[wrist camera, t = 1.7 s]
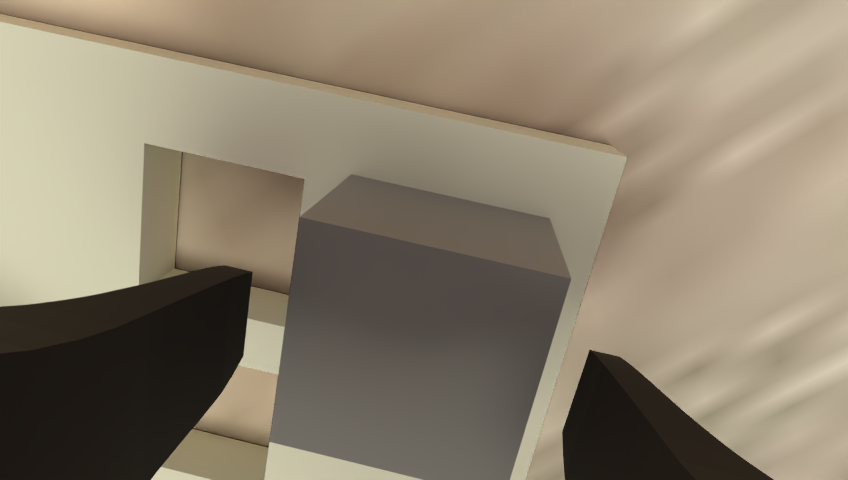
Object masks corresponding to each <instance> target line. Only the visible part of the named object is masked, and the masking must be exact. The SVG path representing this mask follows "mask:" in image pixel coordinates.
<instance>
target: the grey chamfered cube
mask: <svg viewBox="0 0 848 480" xmlns="http://www.w3.org/2000/svg"><path fill="white" fill-rule="evenodd" d="M570 282H571V276H570V273H569V271H568V268H567V265H566V262H565V260H564V257H563V254H562V251H561V248H560V246H559V243H558V240H557V237H556V235H555V232H554V229H553V226H552V223H551V221H550V218H546V217H541V216H537V215H532V214H528V213H523V212H519V211H514V210H510V209H505V208H501V207H496V206H492V205H487V204H483V203H478V202H474V201H469V200H465V199H460V198H456V197H451V196H447V195H442V194H438V193H433V192H429V191H424V190H420V189H415V188H411V187H406V186H402V185H397V184H393V183H388V182H384V181H379V180H375V179H370V178H366V177H361V176H357V175H353V174H351V175H350V176H349V177H347V178H346V179H345V180H344V181H343V182H341V183H340V184H339V185H338V186H337V187H335V188H334V189H333V190H332V191H330V192H329V193H328V194H327V195H326V196H324V197H323V198H322V199H321V200H319V201H318V202H317V203H316V204H315V205H313V206H312V207H311V208H310V209H309V210H307V211H306V212H305V213H304V214H302V215H301V216H300V217H299V224H298V232H297V239H296V247H295V254H294V262H293V269H292V277H291V284H290V292H289V299H288V306H287V314H286V321H285V329H284V336H283V344H282V351H281V359H280V366H279V374H278V381H277V388H276V396H275V403H274V411H273V418H272V426H271V433H270V441H269V442H272V443H276V444H280V445H284V446H288V447H292V448H296V449H300V450H305V451H309V452H313V453H317V454H321V455H325V456H329V457H333V458H337V459H341V460H345V461H349V462H353V463H357V464H361V465H365V466H369V467H373V468H378V469H382V470H386V471H390V472H394V473H398V474H402V475H406V476H410V477H414V478H418V479H422V480H510V478H511V474H512V471H513V468H514V465H515V461H516V458H517V455H518V452H519V448H520V445H521V442H522V438H523V435H524V432H525V429H526V425H527V422H528V419H529V416H530V412H531V409H532V406H533V403H534V399H535V396H536V393H537V389H538V386H539V383H540V380H541V376H542V373H543V370H544V367H545V363H546V360H547V357H548V354H549V350H550V347H551V344H552V340H553V337H554V334H555V331H556V327H557V324H558V321H559V318H560V314H561V311H562V308H563V305H564V301H565V298H566V295H567V291H568V288H569V285H570Z"/></svg>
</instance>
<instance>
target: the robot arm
mask: <svg viewBox="0 0 848 480" xmlns="http://www.w3.org/2000/svg"><path fill="white" fill-rule="evenodd" d="M251 281H252V272H251V271H246V270H242V269H238V268H233V267H229V266H216V267H210V268H205V269H201V270H197V271H193V272H189V273H185V274H181V275H177V276H173V277H169V278H165V279H161V280H157V281H154V282H150V283H146V284H141V285H137V286H132V287H128V288H123V289H119V290H114V291H110V292H105V293H100V294H96V295H90V296H85V297H79V298H73V299H67V300H59V301H52V302H45V303H37V304H28V305H15V306H2V307H0V480H151V479H152V478H153V476H154V475H155V474H156V472H157V471H158V470H159V469H160V467H161V466H162V465H163V464H164V463H165V461H166V460H167V459H168V458H169V456H170V455H171V454H172V453H173V452H174V450H175V449H176V448H177V447H178V446H179V444H180V443H181V442H182V441H183V440H184V438H185V437H186V436H187V435H188V433H189V432H190V431H191V430H192V429H193V427H194V426H195V425H196V424H197V423H198V421H199V420H200V419H201V418H202V416H203V415H204V414H205V413H206V411H207V410H208V409H209V408H210V407H211V405H212V404H213V403H214V402H215V400H216V399H217V398H218V396H219V395H220V394H221V393H222V391H223V390H224V388H225V386H226V385H227V383H228V381H229V380H230V378H231V377H232V375H233V373H234V371H235V370H236V368H237V366H238V365H239V363H240V361H241V359H242V358H243V355H244V346H245V337H246V327H247V318H248V309H249V300H250V290H251ZM562 434H563V458H564V473H565V480H773V479H772V478H770V477H769V476H767V475H766V474H764V473H763V472H762V471H760V470H759V469H757V468H756V467H754V466H753V465H751V464H750V463H748V462H747V461H746V460H744V459H743V458H741V457H740V456H739V455H737V454H736V453H735V452H733V451H732V450H730V449H729V448H728V447H727V446H725V445H724V444H723V443H722V442H720V441H719V440H718V439H716V438H715V437H714V436H713V435H711V434H710V433H709V432H708V431H706V430H705V429H704V428H703V427H701V426H700V425H699V424H698V423H697V422H695V421H694V420H693V419H692V418H691V417H690V416H688V415H687V414H686V413H685V412H684V411H683V410H681V409H680V408H679V407H678V406H677V405H676V404H675V403H673V402H672V401H671V400H670V399H669V398H668V397H667V396H665V395H664V394H663V393H662V392H661V391H660V390H659V389H658V388H657V387H655V386H654V385H653V384H652V383H651V382H650V381H649V380H648V379H646V378H645V377H644V376H643V375H642V374H641V373H640V372H638V371H637V370H636V369H635V368H634V367H633V366H631V365H630V364H629V363H628V362H626V361H625V360H623V359H622V358H620V357H618V356H613V355H609V354H605V353H600V352H596V351H592V350H590V351H589V354H588V357H587V360H586V363H585V366H584V369H583V372H582V375H581V378H580V381H579V384H578V387H577V390H576V393H575V396H574V399H573V402H572V405H571V408H570V411H569V414H568V417H567V420H566V423H565V426H564V429H563V432H562Z"/></svg>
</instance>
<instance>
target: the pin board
mask: <svg viewBox="0 0 848 480" xmlns="http://www.w3.org/2000/svg"><path fill="white" fill-rule="evenodd" d="M182 152H186V153H190V154H195V155H199V156H204V157H208V158H213V159H217V160H221V161H226V162H230V163H235V164H239V165H244V166H248V167H253V168H257V169H262V170H266V171H271V172H275V173H280V174H284V175H288V176H293V177H297V178H302V179H305V180H304V187H303V195H302V202H301V210H300V216H301V215H302V214H304V213H305V212H306V211H307V210H309V209H310V208H311V207H312V206H313V205H315V204H316V203H317V202H318V201H319V200H321V199H322V198H323V197H324V196H326V195H327V194H328V193H329V192H330V191H332V190H333V189H334V188H335V187H337V186H338V185H339V184H340V183H341V182H343V181H344V180H345V179H346V178H347V177H349V176H350V175H351V174H353V175H357V176H361V177H366V178H370V179H375V180H379V181H384V182H388V183H393V184H397V185H402V186H406V187H411V188H415V189H420V190H424V191H429V192H433V193H438V194H442V195H447V196H451V197H456V198H460V199H465V200H469V201H474V202H478V203H483V204H487V205H492V206H496V207H501V208H505V209H510V210H514V211H519V212H523V213H528V214H532V215H537V216H541V217H546V218H550V221H551V223H552V226H553V229H554V232H555V235H556V237H557V240H558V243H559V246H560V248H561V251H562V254H563V257H564V260H565V262H566V265H567V268H568V271H569V273H570V276H571V282H570V285H569V288H568V291H567V295H566V298H565V301H564V305H563V308H562V311H561V314H560V318H559V321H558V324H557V327H556V331H555V334H554V337H553V340H552V344H551V347H550V350H549V354H548V357H547V360H546V363H545V367H544V370H543V373H542V376H541V380H540V383H539V386H538V389H537V393H536V396H535V399H534V403H533V406H532V409H531V412H530V416H529V419H528V422H527V425H526V429H525V432H524V435H523V438H522V442H521V445H520V448H519V452H518V455H517V458H516V461H515V465H514V468H513V471H512V474H511V478H510V480H525V479H526V476H527V473H528V469H529V466H530V463H531V460H532V457H533V454H534V450H535V447H536V444H537V441H538V438H539V435H540V431H541V428H542V425H543V422H544V419H545V416H546V413H547V409H548V406H549V403H550V400H551V397H552V394H553V390H554V387H555V384H556V381H557V378H558V375H559V372H560V368H561V365H562V362H563V359H564V356H565V353H566V349H567V346H568V343H569V340H570V337H571V334H572V330H573V327H574V324H575V321H576V318H577V315H578V312H579V308H580V305H581V302H582V299H583V296H584V293H585V289H586V286H587V283H588V280H589V277H590V274H591V271H592V267H593V264H594V261H595V258H596V255H597V252H598V248H599V245H600V242H601V239H602V236H603V233H604V229H605V226H606V223H607V220H608V217H609V214H610V211H611V207H612V204H613V201H614V198H615V195H616V192H617V188H618V185H619V182H620V179H621V176H622V173H623V169H624V166H625V163H626V160H627V157H626V156H625V155H623V154H622V153H621V152H619V151H618V150H617V149H615V148H614V147H612V146H611V145H606V144H602V143H597V142H593V141H588V140H583V139H579V138H574V137H569V136H565V135H560V134H555V133H551V132H546V131H542V130H537V129H532V128H528V127H523V126H518V125H514V124H509V123H504V122H500V121H495V120H490V119H486V118H481V117H477V116H472V115H467V114H463V113H458V112H453V111H449V110H444V109H439V108H435V107H430V106H426V105H421V104H416V103H412V102H407V101H402V100H398V99H393V98H388V97H384V96H379V95H375V94H370V93H365V92H361V91H356V90H351V89H347V88H342V87H337V86H333V85H328V84H324V83H319V82H314V81H310V80H305V79H300V78H296V77H291V76H286V75H282V74H277V73H273V72H268V71H263V70H259V69H254V68H249V67H245V66H240V65H235V64H231V63H226V62H222V61H217V60H212V59H208V58H203V57H198V56H194V55H189V54H184V53H180V52H175V51H171V50H166V49H161V48H157V47H152V46H147V45H143V44H138V43H133V42H129V41H124V40H119V39H115V38H110V37H106V36H101V35H96V34H92V33H87V32H82V31H78V30H73V29H68V28H64V27H59V26H55V25H50V24H45V23H41V22H36V21H31V20H27V19H22V18H17V17H13V16H8V15H4V14H0V307H2V306H15V305H28V304H37V303H45V302H52V301H59V300H67V299H73V298H79V297H85V296H90V295H96V294H100V293H105V292H110V291H114V290H119V289H123V288H128V287H132V286H137V285H141V284H146V283H150V282H154V281H157V280H161V279H165V278H169V277H173V276H177V275H181V274H185V273H189V272H188V271H183V270H179V269H175V256H176V240H177V224H178V207H179V191H180V175H181V159H182ZM288 299H289V295H286V294H282V293H277V292H273V291H269V290H265V289H260V288H256V287H252V286H251V290H250V300H249V309H248V318H247V327H246V337H245V346H244V355H243V358H242V359H241V361H240V363H239V366H244V367H248V368H252V369H256V370H260V371H264V372H268V373H273V374H277V375H278V374H279V366H280V359H281V351H282V344H283V336H284V329H285V321H286V314H287V306H288ZM151 480H422V479H418V478H414V477H410V476H406V475H402V474H398V473H394V472H390V471H386V470H382V469H378V468H373V467H369V466H365V465H361V464H357V463H353V462H349V461H345V460H341V459H337V458H333V457H329V456H325V455H321V454H317V453H313V452H309V451H305V450H300V449H296V448H292V447H288V446H284V445H280V444H276V443H272V442H269V448H268V447H263V446H259V445H255V444H251V443H247V442H243V441H239V440H235V439H231V438H227V437H223V436H219V435H215V434H211V433H207V432H203V431H199V430H195V429H192V430H191V431H190V432H189V433H188V435H187V436H186V437H185V438H184V440H183V441H182V442H181V443H180V444H179V446H178V447H177V448H176V449H175V450H174V452H173V453H172V454H171V455H170V456H169V458H168V459H167V460H166V461H165V463H164V464H163V465H162V466H161V467H160V469H159V470H158V471H157V472H156V474H155V475H154V476H153V478H152V479H151Z"/></svg>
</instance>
